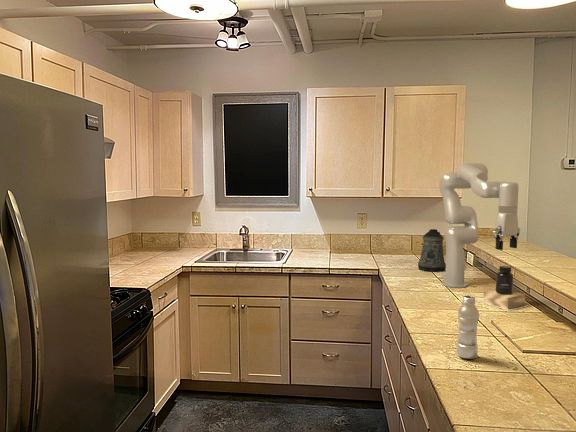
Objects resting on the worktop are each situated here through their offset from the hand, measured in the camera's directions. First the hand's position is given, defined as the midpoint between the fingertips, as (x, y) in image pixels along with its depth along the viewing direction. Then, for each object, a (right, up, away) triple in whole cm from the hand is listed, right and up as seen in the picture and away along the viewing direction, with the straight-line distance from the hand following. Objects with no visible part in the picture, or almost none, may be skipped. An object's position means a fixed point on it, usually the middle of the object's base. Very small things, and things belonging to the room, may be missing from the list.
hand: (506, 248), depth 202 cm
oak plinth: (0, -25, +2) cm, 25 cm away
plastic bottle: (-39, -32, -55) cm, 74 cm away
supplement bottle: (0, -20, +2) cm, 20 cm away
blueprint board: (0, -26, +2) cm, 26 cm away
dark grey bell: (-7, -19, +83) cm, 85 cm away
